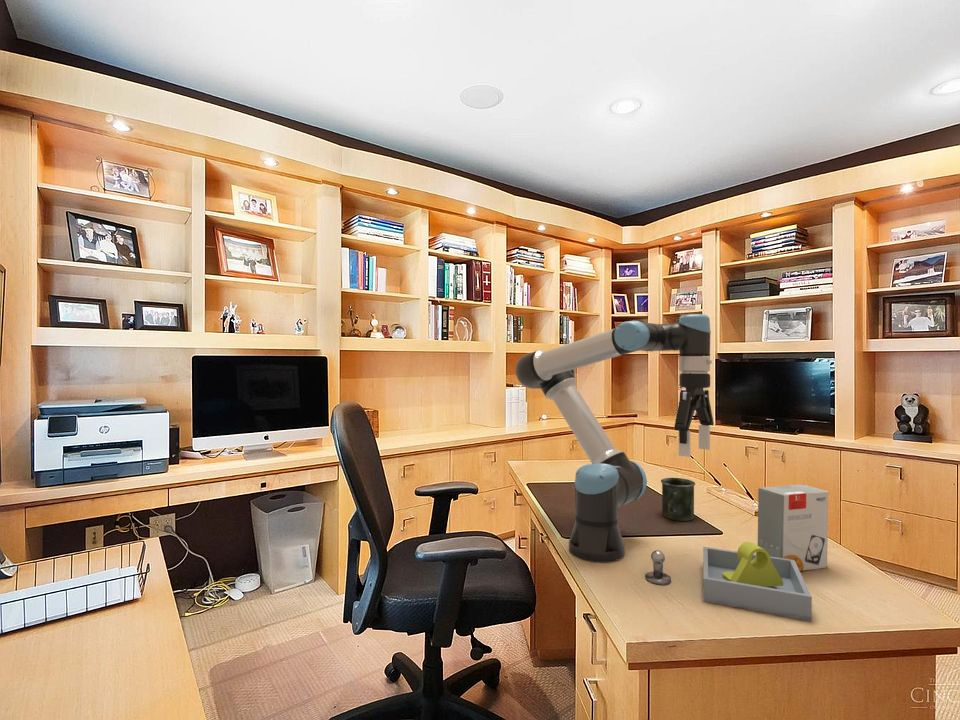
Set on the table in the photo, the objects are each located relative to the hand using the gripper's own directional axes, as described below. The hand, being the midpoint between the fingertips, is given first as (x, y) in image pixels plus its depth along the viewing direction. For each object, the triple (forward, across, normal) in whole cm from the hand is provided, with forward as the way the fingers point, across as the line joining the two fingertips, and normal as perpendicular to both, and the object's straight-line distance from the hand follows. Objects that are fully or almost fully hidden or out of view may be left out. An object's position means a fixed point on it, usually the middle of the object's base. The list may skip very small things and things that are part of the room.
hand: (694, 452), depth 128 cm
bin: (+29, -8, -16) cm, 34 cm away
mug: (+29, +31, +18) cm, 46 cm away
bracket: (+28, -8, -16) cm, 33 cm away
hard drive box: (+29, +14, -19) cm, 38 cm away
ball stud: (+29, -18, +2) cm, 34 cm away
